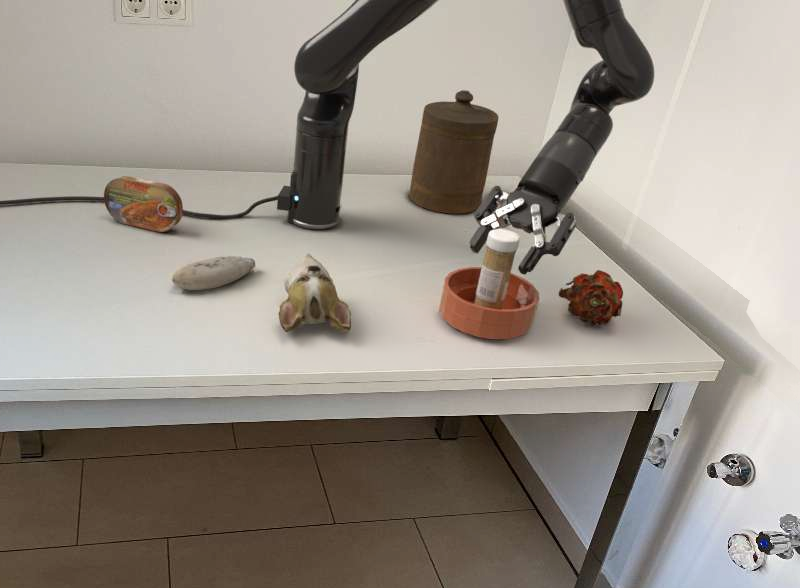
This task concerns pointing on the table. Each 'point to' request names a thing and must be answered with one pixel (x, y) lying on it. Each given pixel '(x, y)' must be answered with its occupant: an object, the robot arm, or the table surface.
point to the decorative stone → (212, 272)
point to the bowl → (484, 320)
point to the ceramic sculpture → (312, 298)
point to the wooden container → (453, 155)
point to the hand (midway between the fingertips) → (496, 260)
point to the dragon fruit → (594, 297)
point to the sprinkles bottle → (496, 268)
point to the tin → (143, 203)
